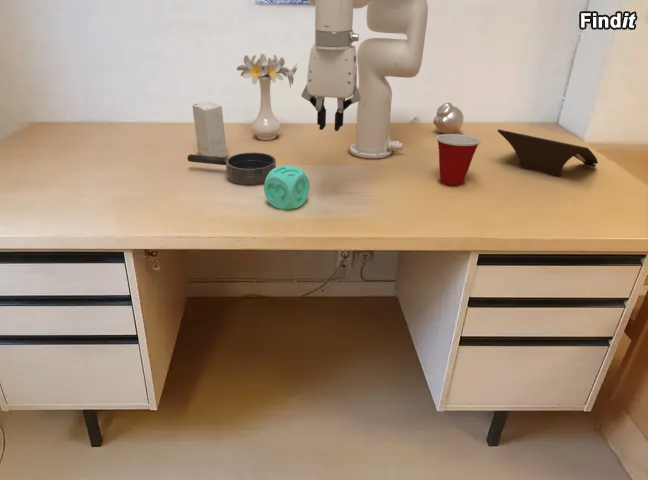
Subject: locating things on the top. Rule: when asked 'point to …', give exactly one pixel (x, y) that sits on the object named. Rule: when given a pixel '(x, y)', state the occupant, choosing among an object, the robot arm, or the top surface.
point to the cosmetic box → (209, 129)
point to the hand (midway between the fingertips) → (329, 127)
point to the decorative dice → (286, 187)
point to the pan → (249, 168)
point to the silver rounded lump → (448, 119)
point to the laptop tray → (546, 152)
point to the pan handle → (207, 159)
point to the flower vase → (266, 91)
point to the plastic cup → (455, 157)
